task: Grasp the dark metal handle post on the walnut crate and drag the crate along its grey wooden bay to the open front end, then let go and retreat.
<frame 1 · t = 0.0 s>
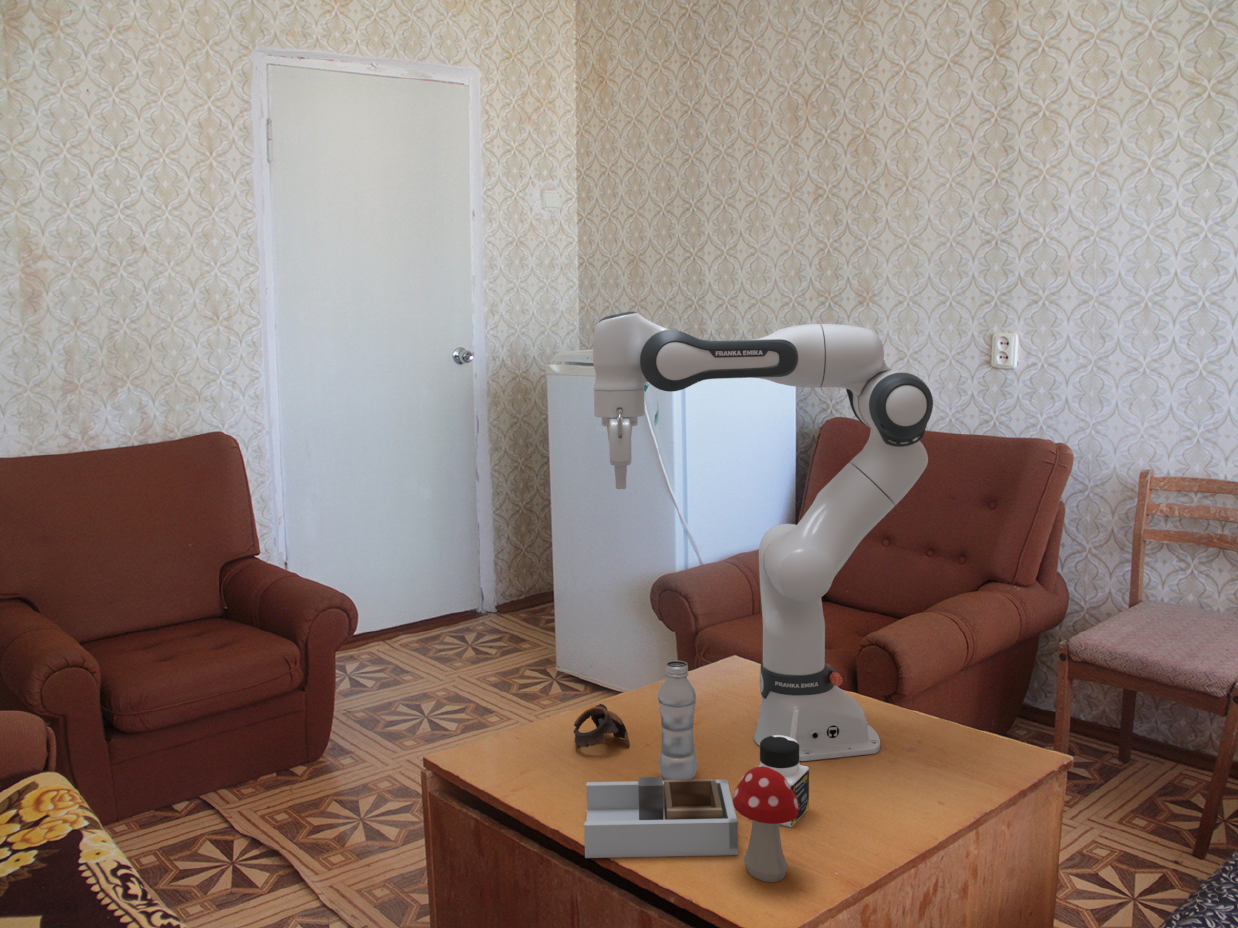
hand: (620, 484, 183), 48 cm above the table, fingers open, 8 cm apart
medicine bottle: (779, 814, 162), on the table
bay: (659, 832, 156), on the table
plastic bottle: (678, 779, 175), on the table
broken clay pot: (602, 745, 189), on the table
crate: (678, 802, 156), point 5 cm above the table, slide at 0.0 cm
decorative mushroom: (765, 872, 145), on the table
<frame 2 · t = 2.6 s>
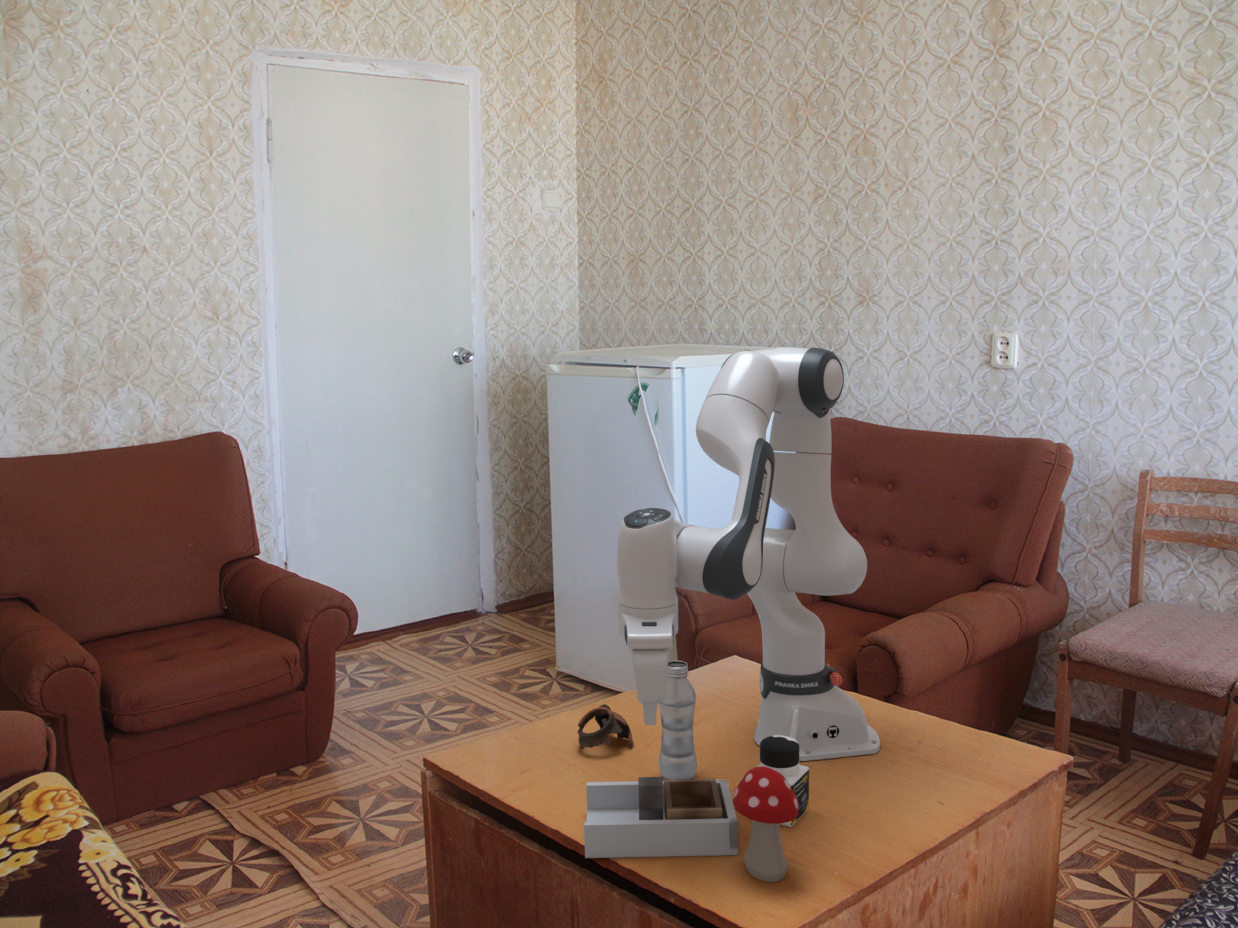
hand: (648, 711, 153), 19 cm above the table, fingers open, 8 cm apart
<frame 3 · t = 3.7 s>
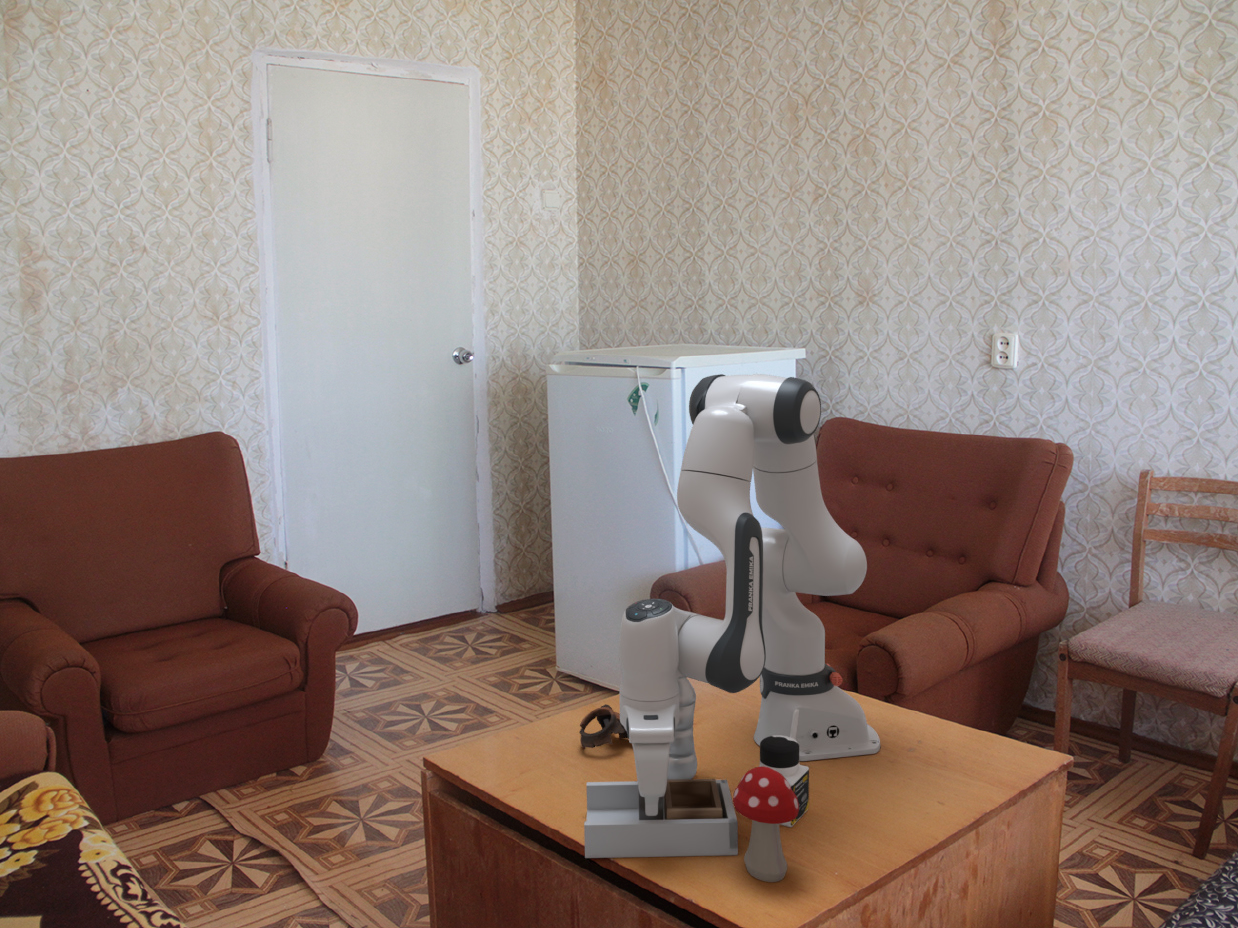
hand: (650, 798, 155), 6 cm above the table, fingers open, 8 cm apart
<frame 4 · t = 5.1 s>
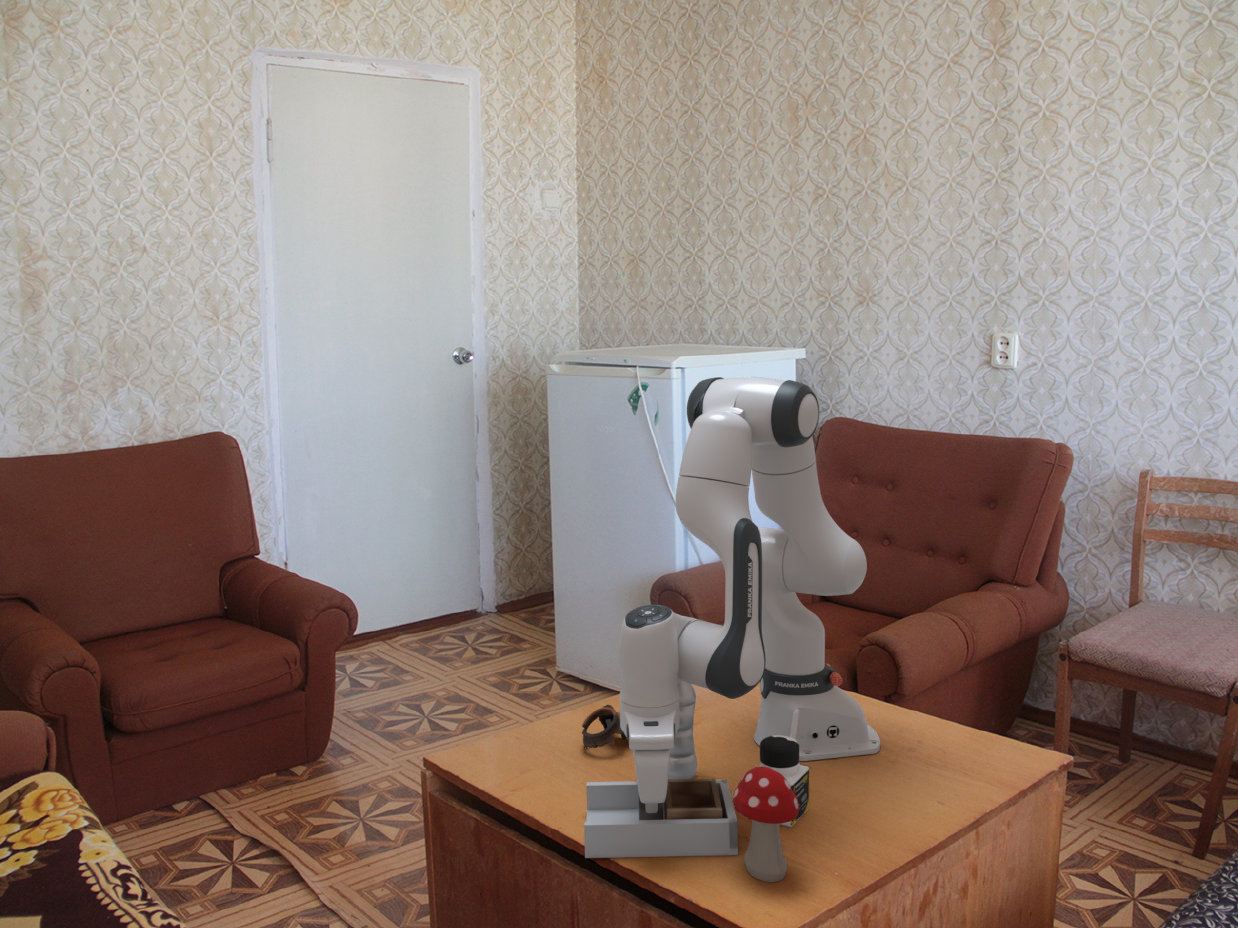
hand: (651, 803, 156), 5 cm above the table, fingers closed on crate, 3 cm apart
crate: (678, 802, 156), point 5 cm above the table, slide at 0.0 cm, touching gripper
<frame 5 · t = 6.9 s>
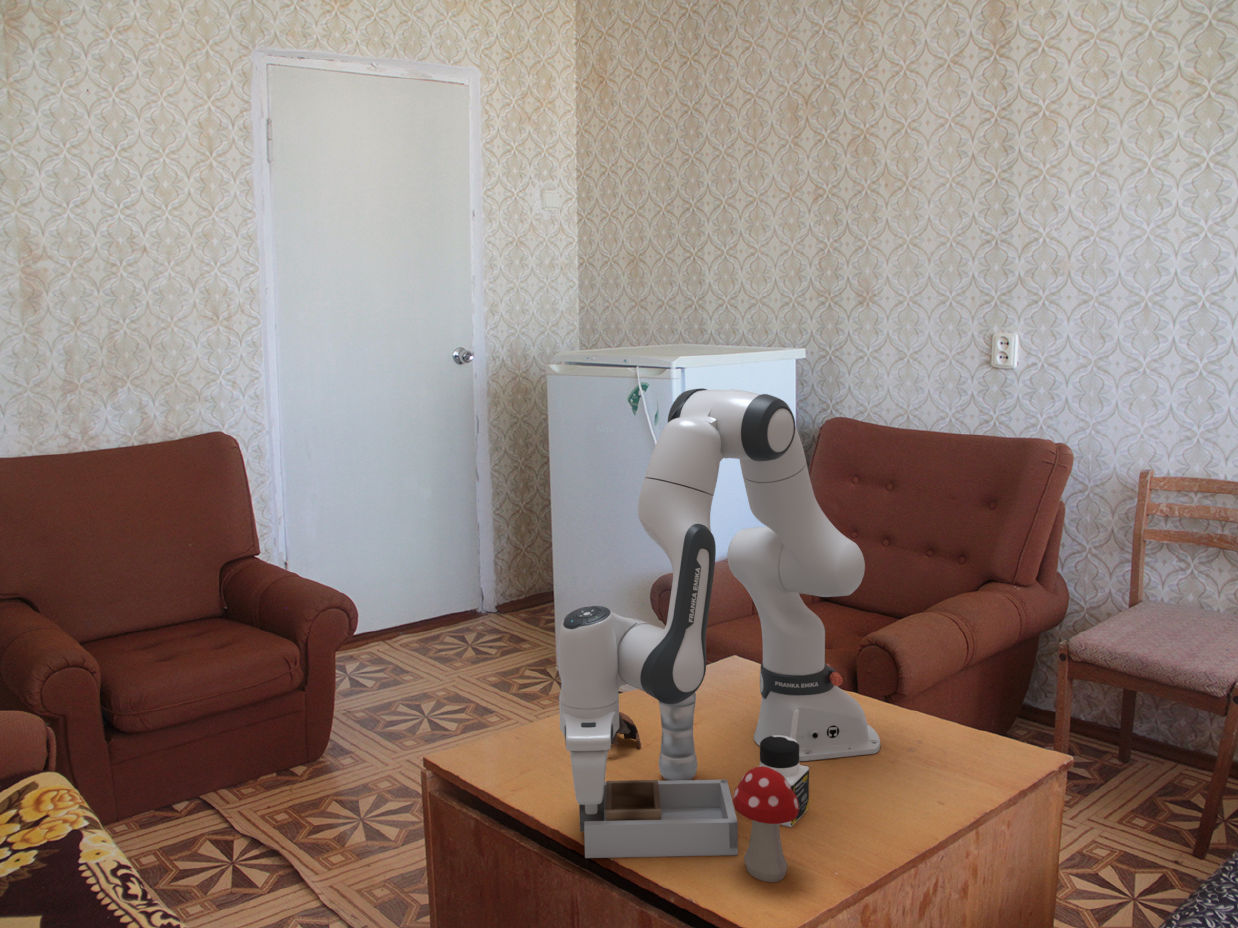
hand: (591, 804, 155), 5 cm above the table, fingers closed on crate, 3 cm apart
crate: (619, 803, 155), point 5 cm above the table, slide at 8.9 cm, touching gripper
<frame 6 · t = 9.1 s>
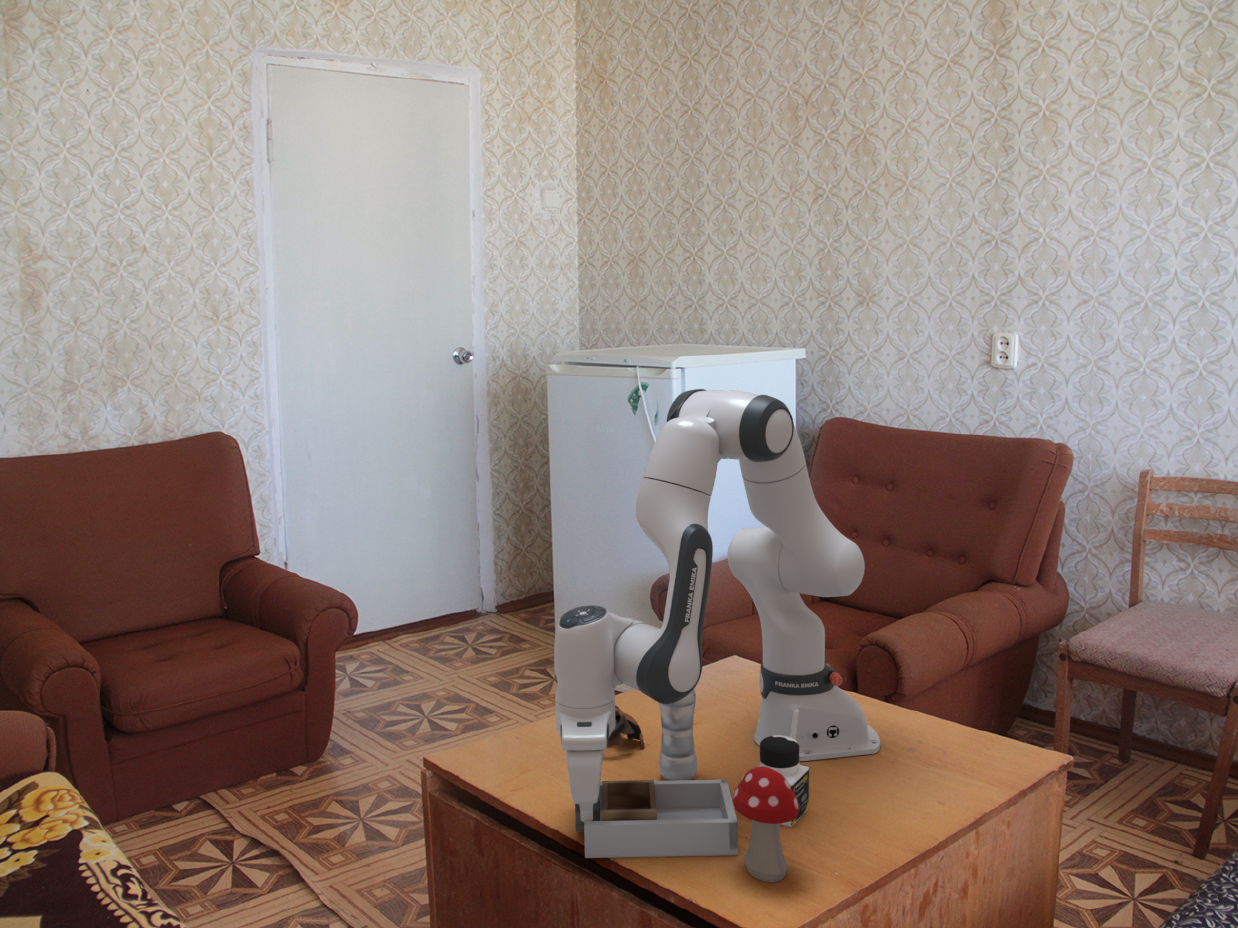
hand: (587, 804, 156), 5 cm above the table, fingers open, 8 cm apart
crate: (615, 803, 155), point 5 cm above the table, slide at 9.5 cm
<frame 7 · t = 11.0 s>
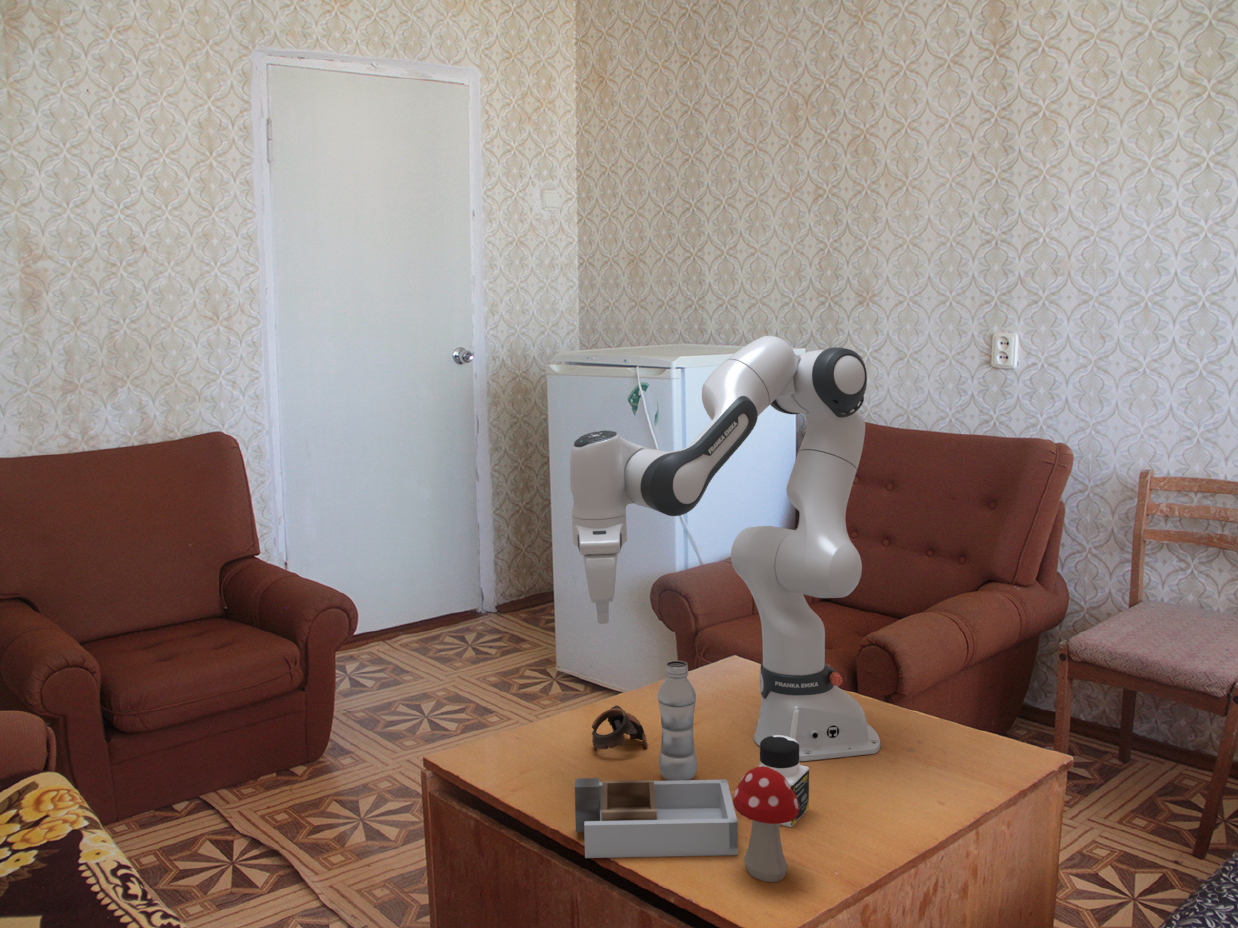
hand: (603, 613, 171), 29 cm above the table, fingers open, 8 cm apart
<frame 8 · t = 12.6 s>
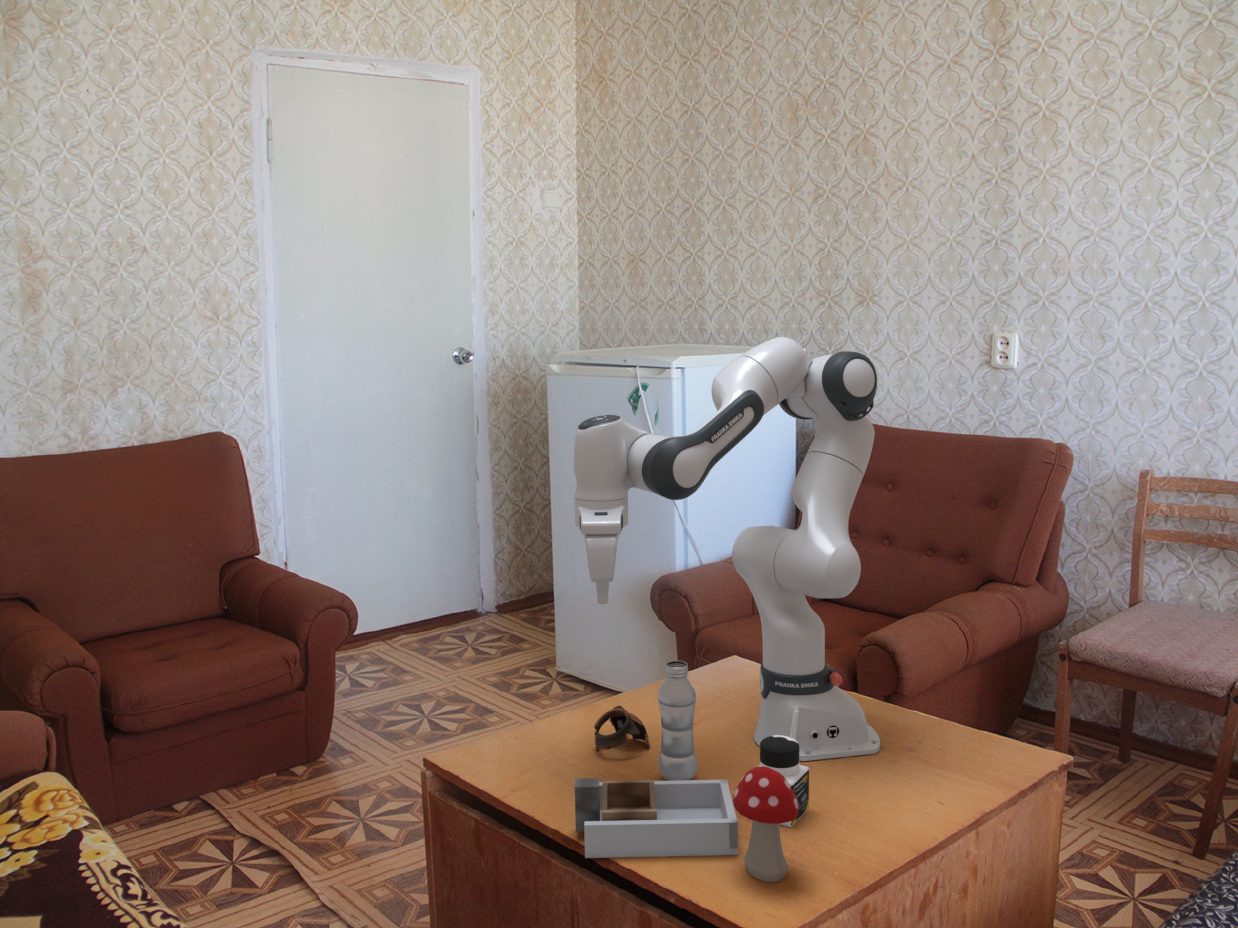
hand: (603, 595, 173), 31 cm above the table, fingers open, 8 cm apart
at the end: crate slide at 9.5 cm; the gripper is holding nothing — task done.
